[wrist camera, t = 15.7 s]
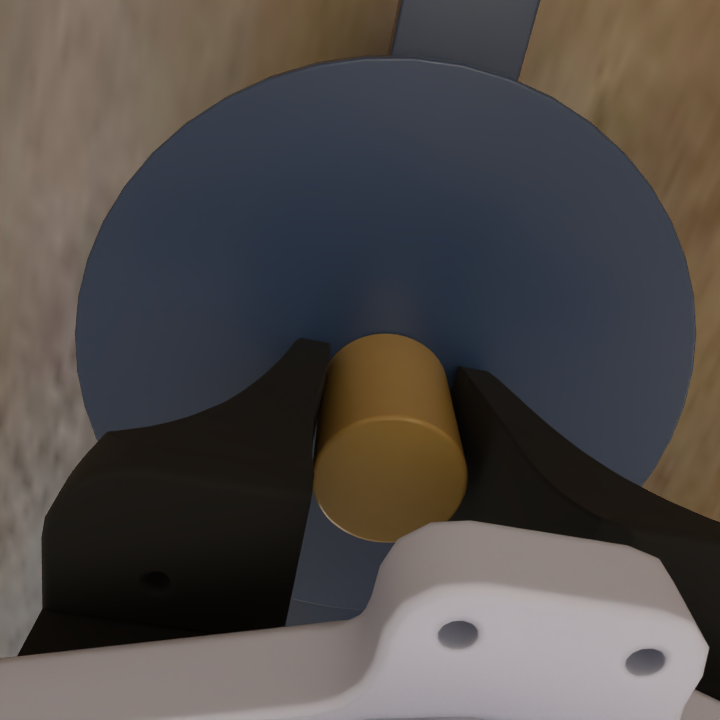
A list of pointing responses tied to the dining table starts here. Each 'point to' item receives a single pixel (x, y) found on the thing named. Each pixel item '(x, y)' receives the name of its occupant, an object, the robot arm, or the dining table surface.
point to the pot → (460, 44)
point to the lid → (391, 286)
